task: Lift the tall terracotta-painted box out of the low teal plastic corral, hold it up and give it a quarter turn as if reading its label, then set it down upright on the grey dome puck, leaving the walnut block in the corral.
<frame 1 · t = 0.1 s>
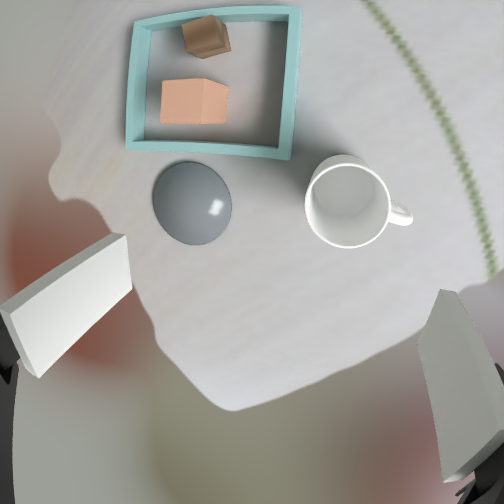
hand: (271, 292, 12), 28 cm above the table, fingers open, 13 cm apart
cup: (357, 190, 36), on the table
corral: (210, 79, 34), on the table
walnut block: (214, 42, 32), resting in corral
grey dome puck: (191, 204, 42), on the table
painted box: (209, 104, 36), resting in corral
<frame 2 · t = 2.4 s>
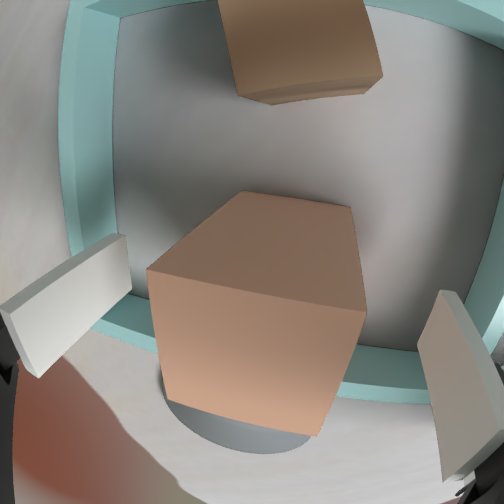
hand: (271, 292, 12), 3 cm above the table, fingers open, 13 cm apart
corral: (297, 176, 13), on the table
walnut block: (308, 55, 11), resting in corral
grey dome puck: (237, 411, 21), on the table
painted box: (289, 248, 14), resting in corral
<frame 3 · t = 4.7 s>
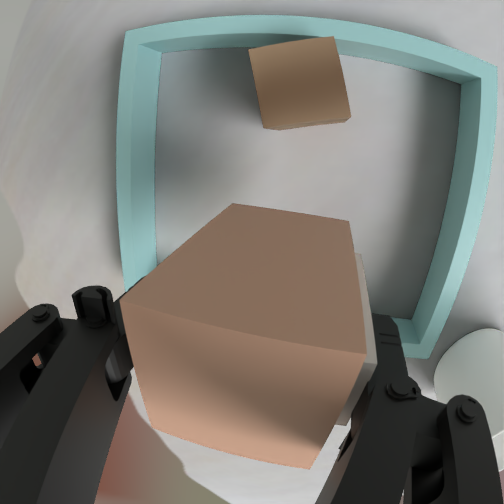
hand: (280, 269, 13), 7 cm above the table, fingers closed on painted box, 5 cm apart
cup: (484, 363, 20), on the table
corral: (297, 181, 18), on the table
walnut block: (306, 94, 16), resting in corral
painted box: (283, 265, 14), point 6 cm above the table, touching gripper
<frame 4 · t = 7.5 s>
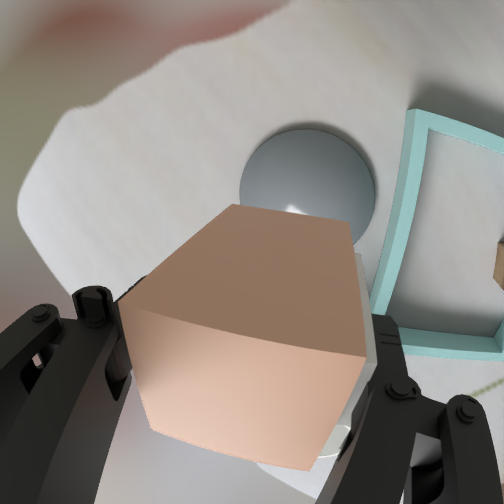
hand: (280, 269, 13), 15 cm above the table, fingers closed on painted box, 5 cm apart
cup: (317, 379, 35), on the table
corral: (472, 250, 24), on the table
grey dome puck: (306, 196, 26), on the table
painted box: (282, 265, 13), point 14 cm above the table, touching gripper
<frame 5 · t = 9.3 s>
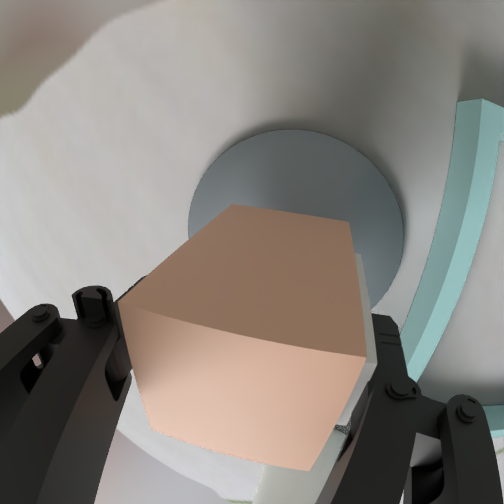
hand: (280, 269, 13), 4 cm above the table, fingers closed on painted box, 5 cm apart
cup: (307, 452, 25), on the table
grey dome puck: (293, 240, 17), on the table
painted box: (282, 265, 13), point 3 cm above the table, touching gripper
when the fingers open (2 cm above the table, at t = 10.5 s): painted box stays where it is, resting on grey dome puck.
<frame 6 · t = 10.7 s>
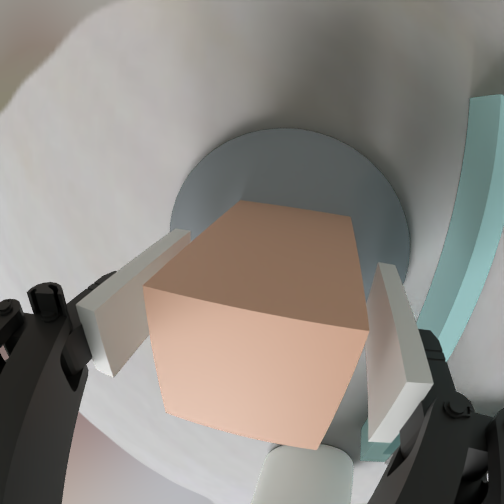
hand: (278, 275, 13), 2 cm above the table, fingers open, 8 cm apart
cup: (303, 467, 23), on the table
grey dome puck: (285, 253, 15), on the table
painted box: (288, 258, 14), point 1 cm above the table, touching grey dome puck
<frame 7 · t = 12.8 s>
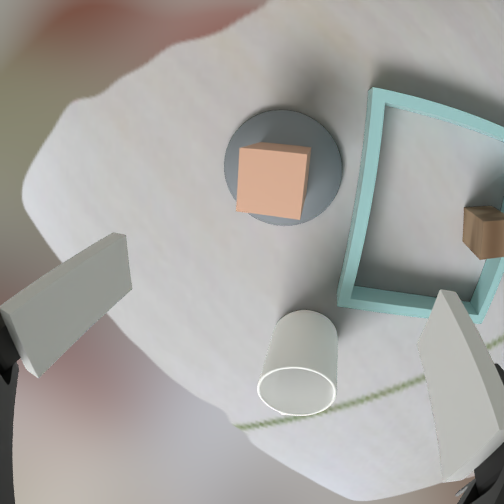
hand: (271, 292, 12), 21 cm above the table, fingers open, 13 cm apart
cup: (301, 343, 38), on the table
corral: (438, 214, 28), on the table
walnut block: (477, 223, 27), resting in corral
grey dome puck: (282, 168, 30), on the table
painted box: (283, 168, 29), point 1 cm above the table, touching grey dome puck
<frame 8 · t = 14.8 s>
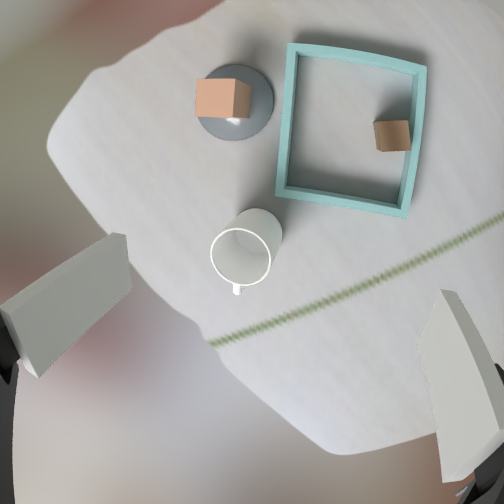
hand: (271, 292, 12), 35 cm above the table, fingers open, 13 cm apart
cup: (255, 242, 50), on the table
corral: (351, 127, 39), on the table
walnut block: (388, 134, 38), resting in corral
grey dome puck: (233, 102, 41), on the table
painted box: (234, 101, 40), point 1 cm above the table, touching grey dome puck
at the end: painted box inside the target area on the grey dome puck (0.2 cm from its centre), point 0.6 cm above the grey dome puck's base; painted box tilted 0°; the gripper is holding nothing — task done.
